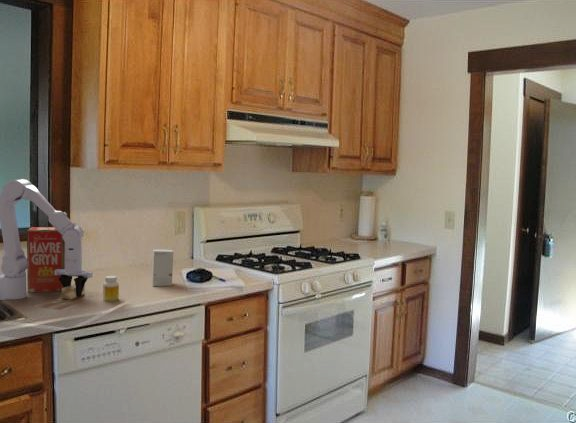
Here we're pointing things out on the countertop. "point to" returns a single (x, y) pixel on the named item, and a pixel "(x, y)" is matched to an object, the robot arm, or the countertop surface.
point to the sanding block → (71, 292)
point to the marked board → (60, 302)
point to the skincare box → (162, 267)
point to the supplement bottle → (110, 289)
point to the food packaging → (44, 259)
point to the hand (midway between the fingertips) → (73, 295)
